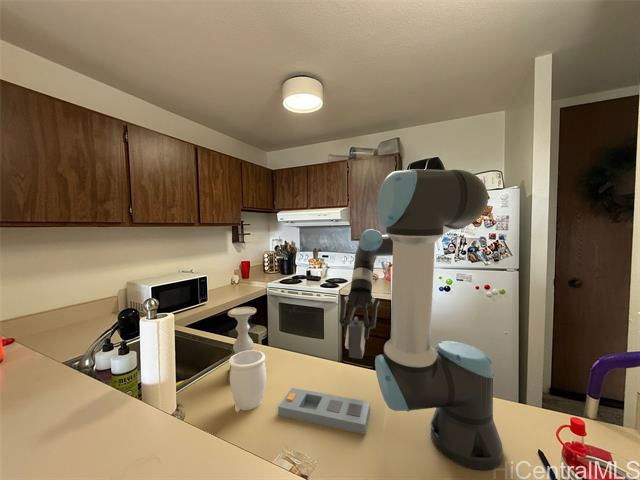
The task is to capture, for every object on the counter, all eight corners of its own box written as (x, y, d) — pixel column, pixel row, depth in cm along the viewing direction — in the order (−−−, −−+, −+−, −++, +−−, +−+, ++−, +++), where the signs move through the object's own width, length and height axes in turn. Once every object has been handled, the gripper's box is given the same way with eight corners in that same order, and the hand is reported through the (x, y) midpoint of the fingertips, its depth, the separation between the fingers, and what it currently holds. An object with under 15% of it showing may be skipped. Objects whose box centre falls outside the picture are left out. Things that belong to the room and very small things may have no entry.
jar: (223, 413, 75) (221, 363, 74) (245, 392, 85) (243, 347, 84) (254, 422, 71) (252, 368, 71) (273, 399, 81) (272, 352, 80)
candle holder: (259, 364, 103) (257, 305, 102) (260, 379, 92) (257, 313, 91) (230, 368, 100) (227, 307, 99) (227, 384, 89) (225, 316, 89)
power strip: (370, 415, 72) (369, 399, 72) (365, 440, 64) (365, 422, 64) (292, 400, 80) (291, 386, 80) (278, 420, 71) (278, 404, 71)
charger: (364, 351, 84) (363, 315, 84) (361, 358, 79) (361, 320, 79) (352, 350, 85) (351, 314, 85) (349, 357, 81) (348, 319, 80)
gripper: (386, 290, 94) (383, 356, 78) (340, 287, 99) (330, 349, 84) (385, 278, 88) (382, 346, 73) (337, 276, 94) (324, 340, 79)
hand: (354, 347), depth 79 cm, fingers closed on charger, 4 cm apart
